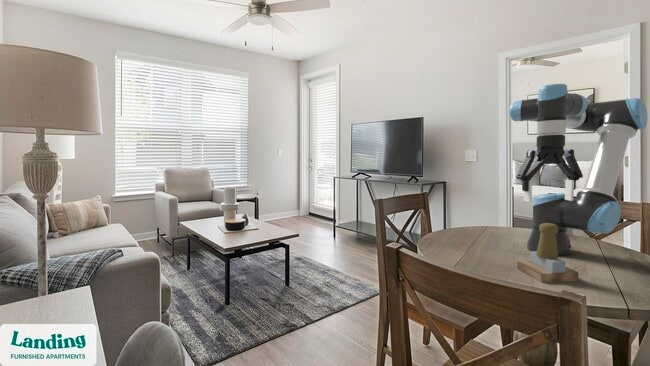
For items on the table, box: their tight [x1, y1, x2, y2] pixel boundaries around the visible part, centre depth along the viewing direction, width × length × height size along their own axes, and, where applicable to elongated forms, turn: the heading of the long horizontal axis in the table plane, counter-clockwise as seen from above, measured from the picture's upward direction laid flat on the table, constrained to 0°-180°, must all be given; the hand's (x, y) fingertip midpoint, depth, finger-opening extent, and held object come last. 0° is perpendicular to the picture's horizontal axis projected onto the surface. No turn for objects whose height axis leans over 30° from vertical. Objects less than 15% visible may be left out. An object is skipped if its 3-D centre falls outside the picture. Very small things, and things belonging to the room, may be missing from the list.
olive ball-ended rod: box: [536, 223, 559, 259], centre depth 108 cm, size 6×6×11 cm
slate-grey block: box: [529, 250, 566, 273], centre depth 109 cm, size 4×11×4 cm, turn 0°
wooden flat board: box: [516, 260, 579, 283], centre depth 109 cm, size 12×12×4 cm
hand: (548, 200), depth 107 cm, fingers open, 13 cm apart
